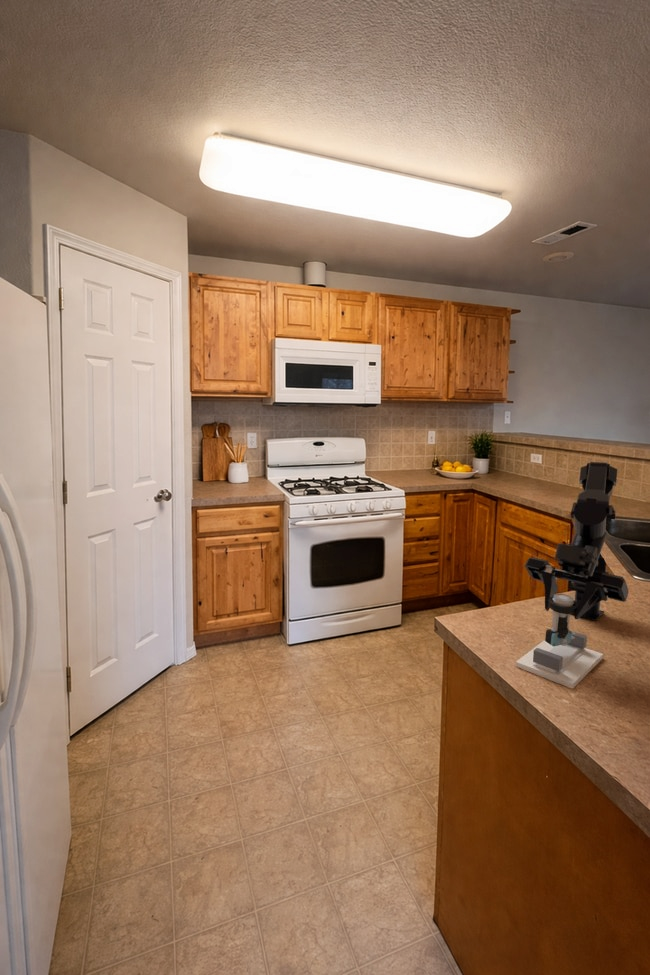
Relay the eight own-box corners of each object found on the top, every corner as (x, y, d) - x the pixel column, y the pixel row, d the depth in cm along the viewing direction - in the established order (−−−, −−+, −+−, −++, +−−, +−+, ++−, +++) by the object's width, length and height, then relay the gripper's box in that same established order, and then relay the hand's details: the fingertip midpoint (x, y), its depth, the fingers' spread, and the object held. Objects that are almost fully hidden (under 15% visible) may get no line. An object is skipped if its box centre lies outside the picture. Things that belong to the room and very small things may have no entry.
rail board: (549, 640, 108) (550, 622, 107) (602, 658, 100) (604, 639, 99) (515, 666, 97) (516, 646, 97) (572, 688, 89) (574, 667, 89)
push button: (563, 633, 102) (568, 589, 100) (584, 646, 97) (590, 600, 95) (538, 638, 100) (543, 593, 98) (558, 651, 95) (563, 604, 93)
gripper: (530, 520, 104) (503, 582, 98) (629, 537, 90) (604, 609, 84) (544, 548, 110) (519, 607, 105) (637, 566, 96) (615, 636, 91)
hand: (560, 614), depth 96 cm, fingers closed on push button, 5 cm apart
